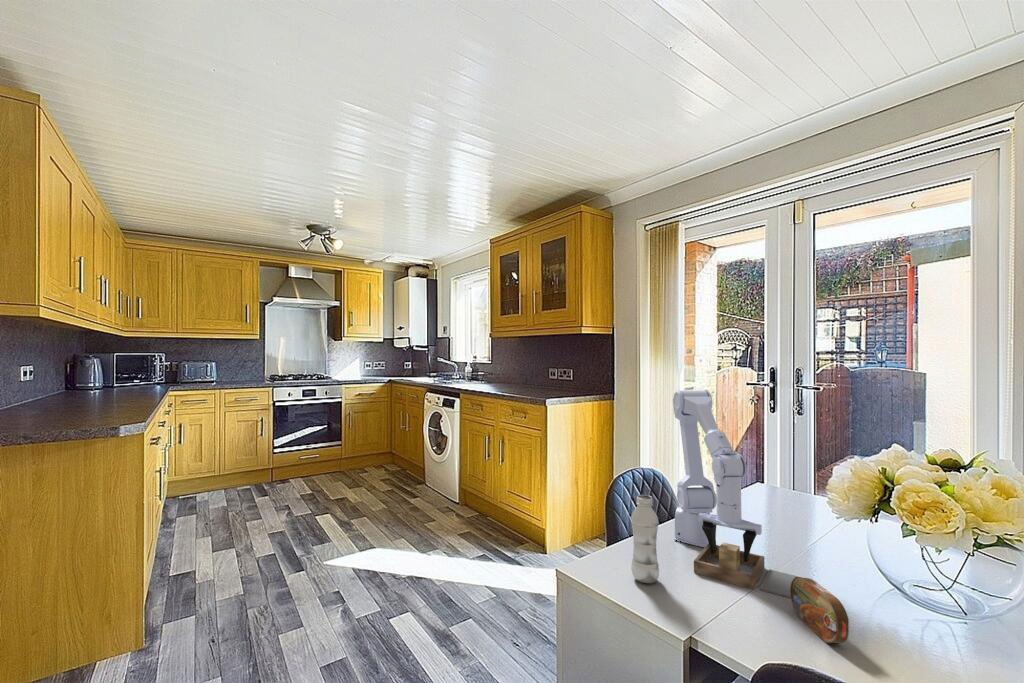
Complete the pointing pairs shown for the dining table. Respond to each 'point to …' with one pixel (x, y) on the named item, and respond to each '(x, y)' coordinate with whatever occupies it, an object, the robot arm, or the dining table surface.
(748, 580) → the frame box
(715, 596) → the dining table surface
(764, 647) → the dining table surface
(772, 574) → the mat
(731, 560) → the oak block
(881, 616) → the dining table surface
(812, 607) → the tin
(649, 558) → the plastic bottle
